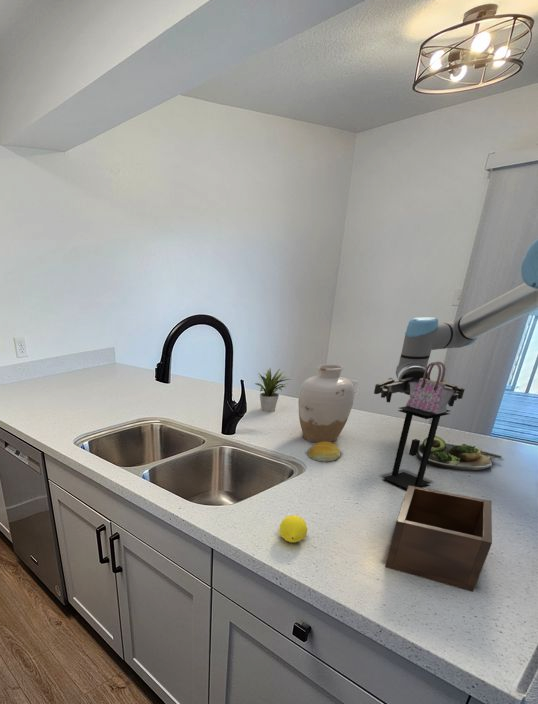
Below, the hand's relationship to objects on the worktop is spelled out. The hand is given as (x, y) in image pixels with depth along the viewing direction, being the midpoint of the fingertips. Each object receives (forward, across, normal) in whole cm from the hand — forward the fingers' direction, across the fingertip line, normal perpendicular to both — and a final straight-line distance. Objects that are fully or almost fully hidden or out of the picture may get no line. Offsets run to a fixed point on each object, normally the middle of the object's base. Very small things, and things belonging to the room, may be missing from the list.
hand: (420, 399), depth 109 cm
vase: (-18, +22, -19) cm, 35 cm away
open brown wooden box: (+43, -2, -19) cm, 47 cm away
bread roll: (-2, +20, -19) cm, 28 cm away
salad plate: (-11, -12, -19) cm, 25 cm away
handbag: (+10, 0, -19) cm, 22 cm away
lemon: (+46, +23, -19) cm, 55 cm away
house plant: (-43, +44, -20) cm, 64 cm away
